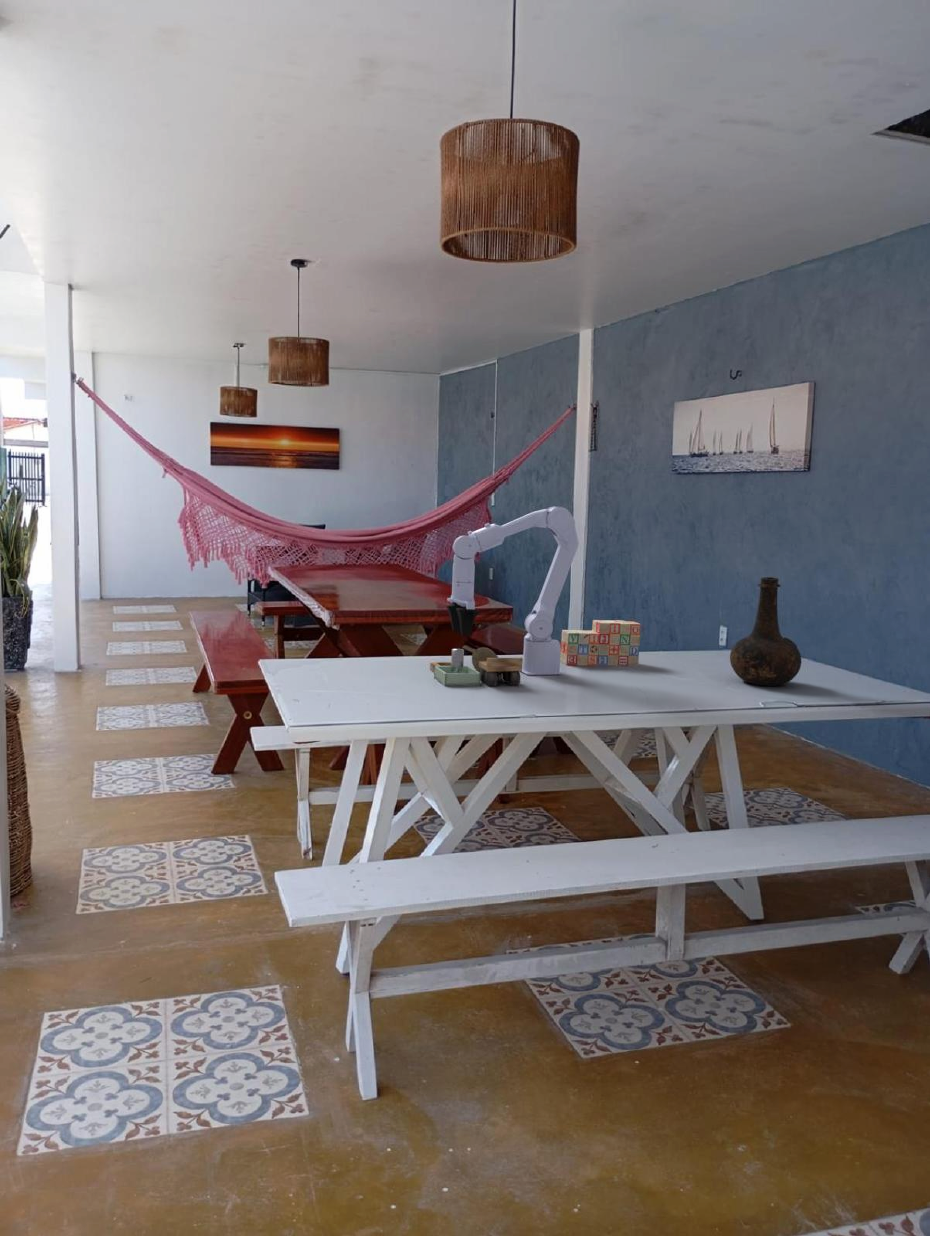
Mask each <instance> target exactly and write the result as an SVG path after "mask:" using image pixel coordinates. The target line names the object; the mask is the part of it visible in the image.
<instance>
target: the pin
mask: <svg viewBox="0 0 930 1236" xmlns="http://www.w3.org/2000/svg"><path fill="white" fill-rule="evenodd" d="M464 654H465V649H463V648H451V661H450V662H451V673H463V666H464V661H465V660H464V659H465V658H464V656H465V655H464Z"/></svg>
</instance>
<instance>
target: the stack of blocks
mask: <svg viewBox="0 0 930 1236" xmlns="http://www.w3.org/2000/svg"><path fill="white" fill-rule="evenodd" d="M641 626H642V624H641V623H639V622H636V621H633V620H632V621H631V620H629V621H628V620H624V619H623V620H622V619H621V620H619V619H616V620H615V619H613V620H611V619H610V620H608V619H607V620H601V619H600V620H599V619H593V620H592V626H591V630H586V629H585V630H583V629H562V630H561V642H560V648H561V655H560V663H561V664H564V665H565V666H594V667H595V666H599V667H600V666H602V667H604V666H603V665H605V666H606V665H638V666H639V659H640V657H639V656H640V646H641V628H642V627H641Z"/></svg>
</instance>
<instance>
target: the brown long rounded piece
mask: <svg viewBox="0 0 930 1236" xmlns="http://www.w3.org/2000/svg"><path fill="white" fill-rule="evenodd" d="M487 658H500V657H499V656H498V655H497V654H496V653H495V651H493V650H492V649H490V648H488V647H485V646H484V647H483V646H482V647H479V648H477V649H475V650H474V651H473V652H472V655H471V664H472V666H473V669H475V670H476V671H478V672H479V673H480V669H481V667H479V662H483V661H487ZM502 672H503V671H496V673H497V679H498V678H500V677H502Z"/></svg>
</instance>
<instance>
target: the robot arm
mask: <svg viewBox="0 0 930 1236" xmlns="http://www.w3.org/2000/svg"><path fill="white" fill-rule="evenodd" d="M531 528H542V529H543V528H544V529H547V530H548V531H549V532H550V533H551V534H552V536H553V538H554V540H555V541H556V543H557V548H556V550H555V553H554V556H553V559H552V561H551V565H550V567H549V570H548V572H547V575H546V577H545V580H544V583H543V585H542V589H541V591H540V594H539V597H538V600H537V601H536V603H535V605H534V606H533V608H532V611H531V612H529V614H528V615H527V616H526V618H525V620H524V627H525V628H524V629H525V630H526V632H527V633H526V635H525V636H524V637H523V655H522V656H523V657H522V658H523V664H522V671H520V673H521V672H522V673H523V674H525V675H527V676H535V675H537V676H540V675H541V676H542V675H561V673H562V672H560V669H561V661H560V656H561V642H560V641H559V640H558V639H553V638H552V636H551V635H552V633H553V630H554V628H553V627H554V626H553V625H554V624H553V620H554V617H555V613H556V612H555V611H556V607H557V604H558V601H559V598H560V595H561V594H562V590H563V587H564V584H565V583H566V579H567V577H568V574H569V571H570V569H571V566H572V563H573V561H574V558H575V556H576V553H577V550H578V547H579V538H578V534H577V530H576V529H577V528H576V520H575V518H574V516H573V515H572V514H571V512H570V510H569V509H567V508H565V507H563V506H555V505H554V506H550V507H547V508H543V509H539V510H536V511H531V512H530V513H527V514H525V515H522V516H521V517H518V518H516V519H514V520H511V521H509V522H507V523H505V524H502V525H498V524H497V523H491V524H490V523H489V522H487V523H485V524H484V527H482V528H479V529H477V530H474V531H472V530H470V531H467V534H468V535H460V536H458V537H456V539H455V540H454V542H453V543H452V546H451V547H452V552H453V553H454V555H453V564H452V581H451V582H452V585H451V595H450V597H447V598H446V600H447V602H449V603H450V604H446V605H445V606H446V609H447V612H448V614H449V619H450V623H451V629H452V632H460V634H461V636H462V637H463V636H464V637H467V636H468V637H469V636H470V635H471V633H472V629H473V625H474V624H475V623H474V622H475V620H476V618H477V616H478V614H479V612H480V610H479V609H478V608H477V609H475V607H476V601H475V598H474V594H475V593H474V591H475V569H476V565H475V555H476V554H477V553H480V554H481V553H484V552H485V551H488V550H490V549H492V548H495V547H498V546H500V545H503V543H504V540H505V538H507V537H509V536H512V535H515V534H517V533H520V532H523V531H525V530H528V529H531Z"/></svg>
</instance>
